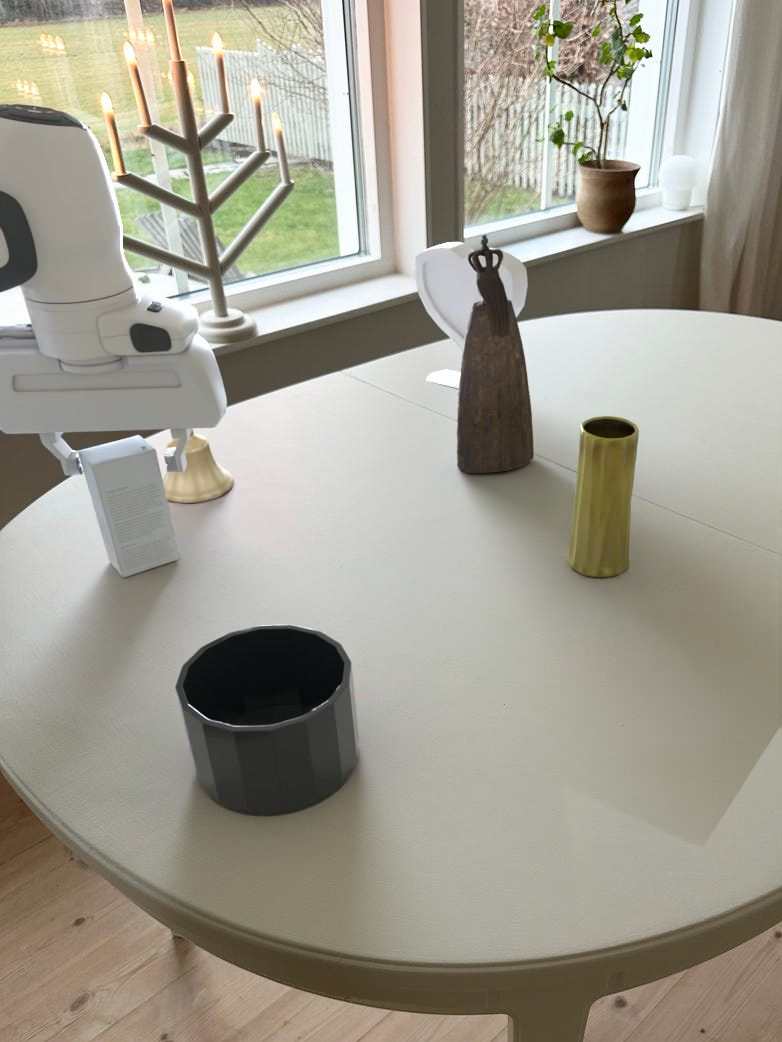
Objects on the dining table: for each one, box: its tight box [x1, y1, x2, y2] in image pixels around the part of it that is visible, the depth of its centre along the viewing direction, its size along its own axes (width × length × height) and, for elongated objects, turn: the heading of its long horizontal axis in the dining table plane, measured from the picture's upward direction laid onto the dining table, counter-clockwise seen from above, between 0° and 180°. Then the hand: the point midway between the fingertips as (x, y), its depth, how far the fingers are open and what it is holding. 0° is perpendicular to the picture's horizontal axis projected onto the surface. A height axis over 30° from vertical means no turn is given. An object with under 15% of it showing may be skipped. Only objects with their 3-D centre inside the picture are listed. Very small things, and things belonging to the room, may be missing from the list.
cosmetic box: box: [77, 434, 181, 578], centre depth 91 cm, size 6×4×12 cm
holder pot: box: [174, 624, 360, 817], centre depth 69 cm, size 12×12×8 cm
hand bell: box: [162, 428, 235, 504], centre depth 103 cm, size 8×8×16 cm
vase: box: [566, 415, 640, 579], centre depth 90 cm, size 6×6×14 cm
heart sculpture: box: [414, 241, 529, 390], centre depth 128 cm, size 16×5×18 cm, turn 56°
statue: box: [456, 234, 535, 475], centre depth 105 cm, size 9×8×25 cm
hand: (126, 471), depth 89 cm, fingers open, 8 cm apart
